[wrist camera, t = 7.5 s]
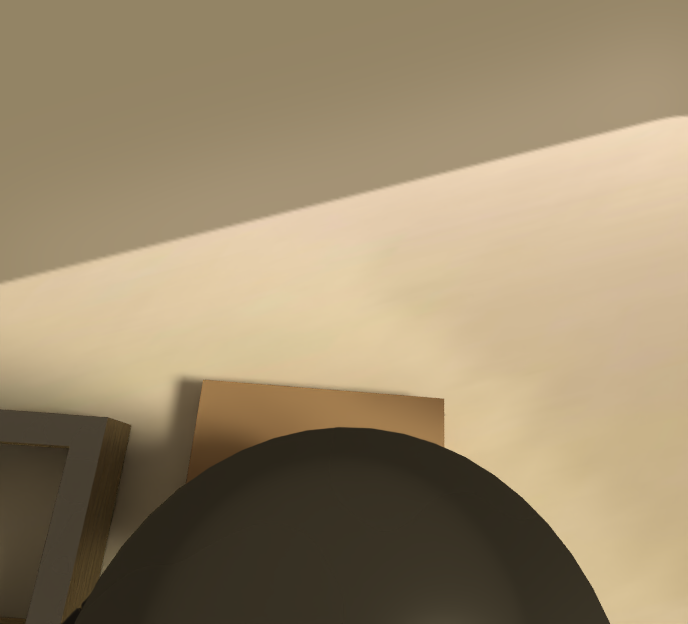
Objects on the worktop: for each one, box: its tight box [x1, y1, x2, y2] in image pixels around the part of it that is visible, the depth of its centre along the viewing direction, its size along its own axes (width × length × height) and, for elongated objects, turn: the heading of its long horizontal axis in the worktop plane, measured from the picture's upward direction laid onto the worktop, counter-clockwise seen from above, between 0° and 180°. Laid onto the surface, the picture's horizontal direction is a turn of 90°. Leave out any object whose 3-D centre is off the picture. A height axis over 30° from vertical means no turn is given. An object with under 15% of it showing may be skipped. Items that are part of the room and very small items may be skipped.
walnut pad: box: [186, 380, 444, 484], centre depth 19 cm, size 10×10×1 cm
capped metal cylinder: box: [74, 427, 610, 624], centre depth 9 cm, size 5×5×13 cm
